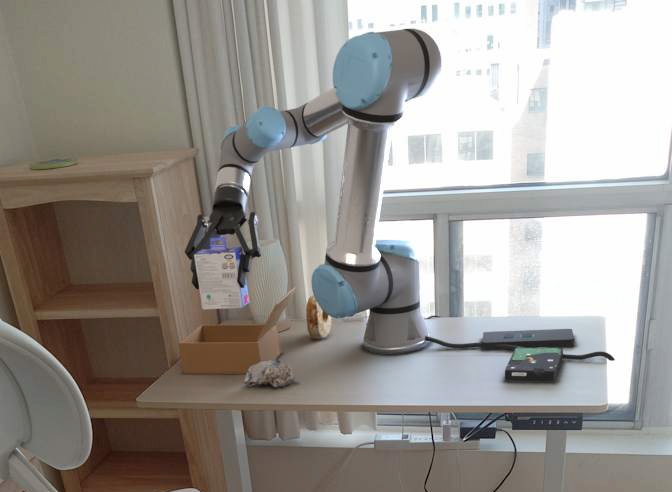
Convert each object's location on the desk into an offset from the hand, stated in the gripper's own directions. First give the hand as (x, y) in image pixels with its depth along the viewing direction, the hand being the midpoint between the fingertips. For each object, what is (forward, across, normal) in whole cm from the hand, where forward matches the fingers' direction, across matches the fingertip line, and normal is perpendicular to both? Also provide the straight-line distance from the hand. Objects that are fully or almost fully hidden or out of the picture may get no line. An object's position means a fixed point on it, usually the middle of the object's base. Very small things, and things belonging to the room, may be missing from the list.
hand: (217, 285), depth 203 cm
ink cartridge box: (+2, 0, -6) cm, 6 cm away
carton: (+11, 0, -15) cm, 19 cm away
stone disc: (-2, -16, -29) cm, 33 cm away
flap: (+3, -12, -6) cm, 14 cm away
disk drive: (+15, -69, -12) cm, 71 cm away
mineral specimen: (+21, -13, -5) cm, 26 cm away
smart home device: (+2, -66, -25) cm, 70 cm away
